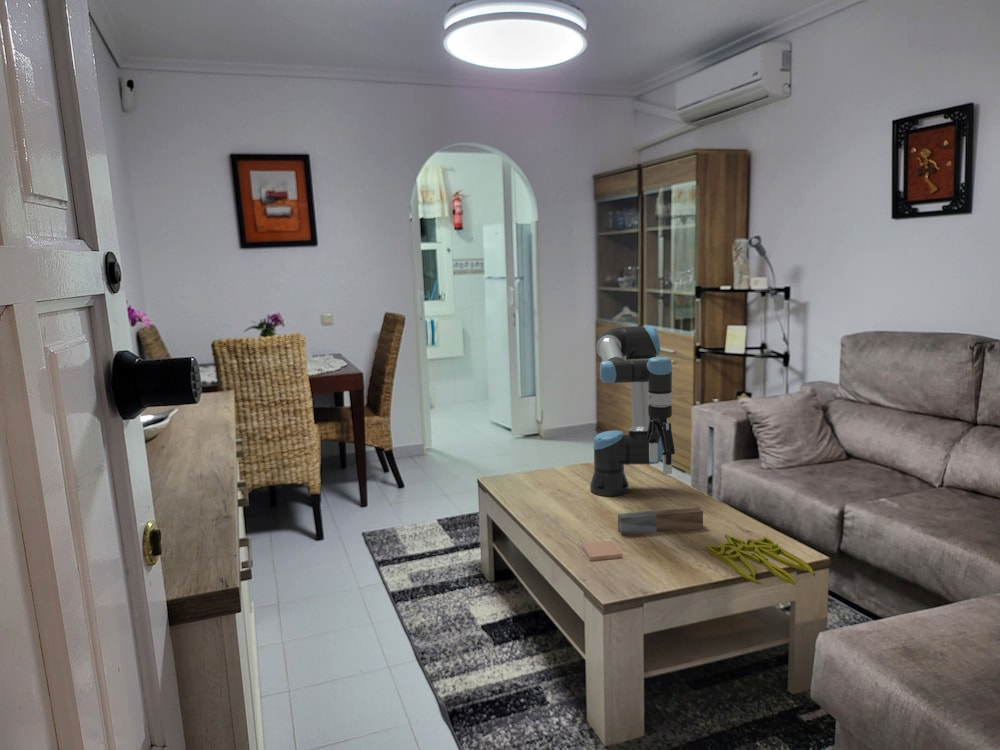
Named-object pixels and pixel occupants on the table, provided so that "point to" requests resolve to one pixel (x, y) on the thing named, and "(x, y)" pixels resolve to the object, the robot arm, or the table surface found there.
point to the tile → (601, 550)
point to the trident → (757, 557)
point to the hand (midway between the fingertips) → (660, 467)
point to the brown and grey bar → (660, 521)
